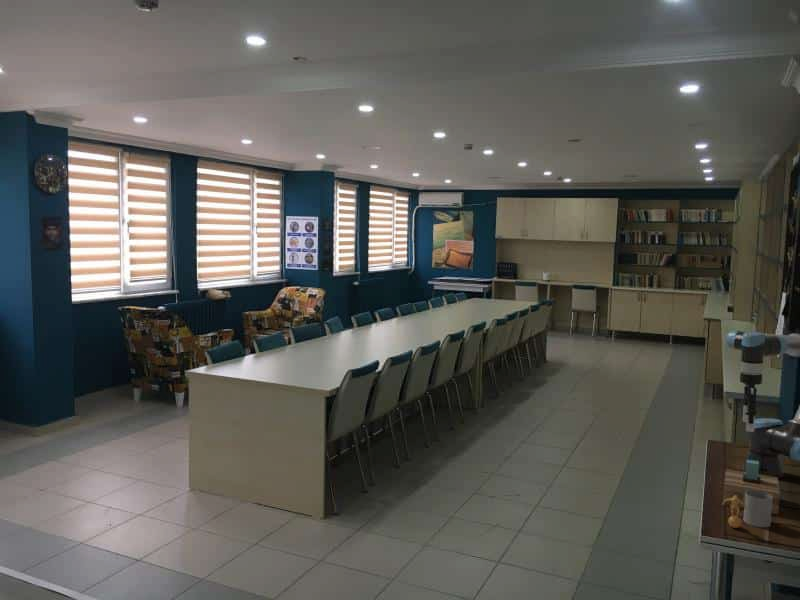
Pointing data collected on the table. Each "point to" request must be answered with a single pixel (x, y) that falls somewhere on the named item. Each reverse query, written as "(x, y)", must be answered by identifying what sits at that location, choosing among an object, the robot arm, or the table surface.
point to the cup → (758, 508)
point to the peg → (752, 469)
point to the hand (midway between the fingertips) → (748, 426)
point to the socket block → (750, 487)
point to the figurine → (735, 520)
